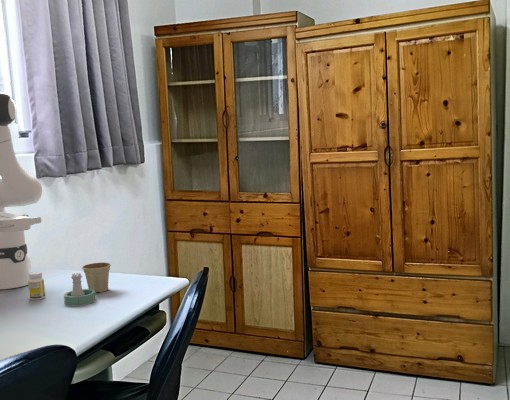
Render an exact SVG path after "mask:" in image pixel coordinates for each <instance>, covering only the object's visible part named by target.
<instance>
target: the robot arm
mask: <svg viewBox="0 0 510 400" xmlns="http://www.w3.org/2000/svg"><path fill="white" fill-rule="evenodd" d="M16 113H17V107H16V104H15V101H14V98H13V97H12V96H11V95H10V94H9V93H5V92H0V290H10V289H15V288H21V287H26V286H29V285H28V280H29V279H30V278H29V273H31V272H33V269H32V268H33V267H32V263H31V259H30V257H29V256H28V255H27V254H28V246H27V243H26V241H25V240H26V238H25V231H28V230H31V226H33V225H37V224H41V223H42V217H41V216H32V217H29V214H26V213H24V214H14V213H8V212H7V211H6V209H5V208H12V207H13V208H15V207H25V206H29V205H34V204H36V203H37V204H38V201H40V199H41V197H42V194H43V187H42V184H41V182H40V180H39V179H38V178H37V177H36V176H34V175H32V174H30V173H29V172H27V170H25V169H24V167H23V166H22V165H21V164H20V163H19V161H18V159H17V157H16V153H15V150H14V144H13V140H12V135H11V133H12V132H11V130H10V126H9V125H10V124H11V125H12V123H13V122H14V120H15V119H16Z"/></svg>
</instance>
